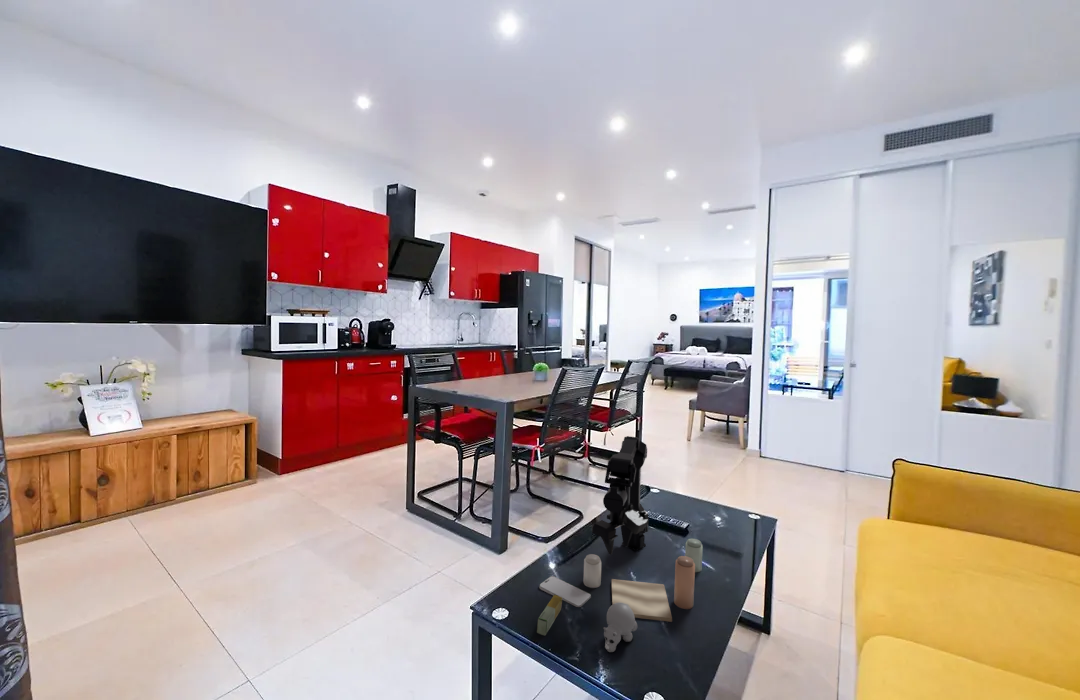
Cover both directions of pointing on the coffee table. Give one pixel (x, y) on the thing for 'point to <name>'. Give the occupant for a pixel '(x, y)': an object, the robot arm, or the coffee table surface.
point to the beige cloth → (642, 599)
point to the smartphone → (565, 591)
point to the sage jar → (694, 552)
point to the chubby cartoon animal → (619, 625)
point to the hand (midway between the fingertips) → (618, 550)
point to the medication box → (549, 615)
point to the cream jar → (592, 571)
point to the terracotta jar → (684, 582)
